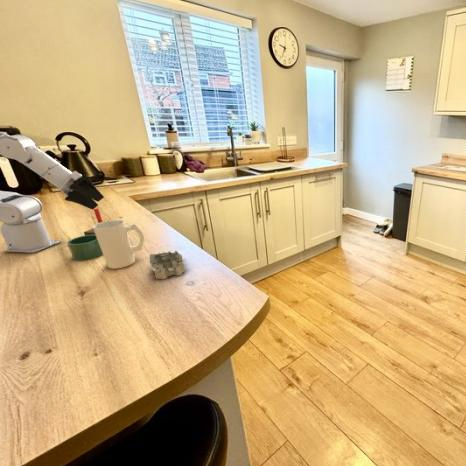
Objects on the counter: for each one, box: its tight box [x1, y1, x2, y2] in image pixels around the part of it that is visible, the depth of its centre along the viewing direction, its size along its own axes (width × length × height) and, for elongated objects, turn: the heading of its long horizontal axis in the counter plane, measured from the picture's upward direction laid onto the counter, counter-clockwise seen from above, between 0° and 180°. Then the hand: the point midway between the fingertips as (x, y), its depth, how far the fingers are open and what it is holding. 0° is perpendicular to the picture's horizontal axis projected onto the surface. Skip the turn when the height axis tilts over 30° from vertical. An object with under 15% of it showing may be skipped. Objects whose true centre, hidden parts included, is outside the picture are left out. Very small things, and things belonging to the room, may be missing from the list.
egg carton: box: [149, 250, 186, 280], centre depth 78 cm, size 11×8×4 cm
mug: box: [92, 219, 145, 270], centre depth 80 cm, size 10×7×12 cm, turn 129°
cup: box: [67, 235, 104, 261], centre depth 85 cm, size 7×7×5 cm
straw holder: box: [83, 228, 96, 236], centre depth 98 cm, size 7×7×3 cm
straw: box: [93, 208, 104, 224], centre depth 97 cm, size 1×1×10 cm
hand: (98, 203), depth 91 cm, fingers open, 7 cm apart
